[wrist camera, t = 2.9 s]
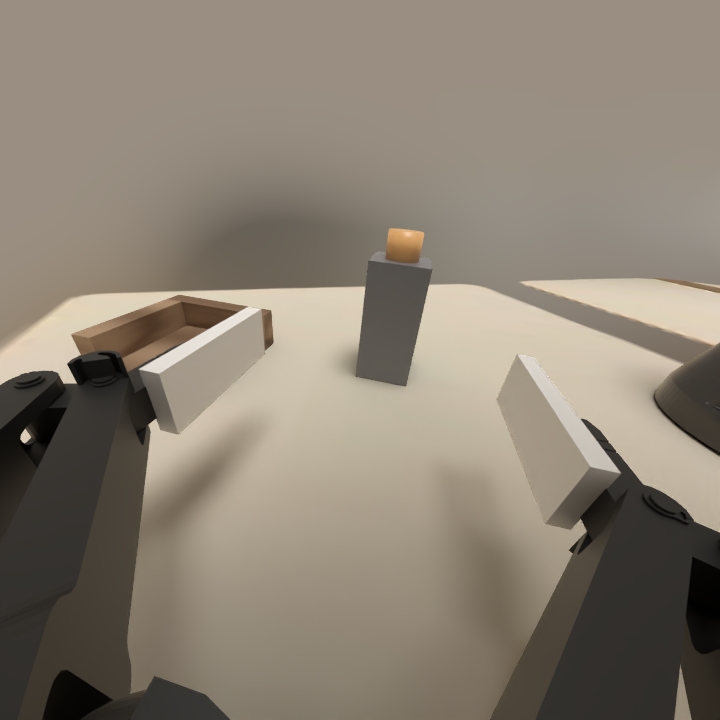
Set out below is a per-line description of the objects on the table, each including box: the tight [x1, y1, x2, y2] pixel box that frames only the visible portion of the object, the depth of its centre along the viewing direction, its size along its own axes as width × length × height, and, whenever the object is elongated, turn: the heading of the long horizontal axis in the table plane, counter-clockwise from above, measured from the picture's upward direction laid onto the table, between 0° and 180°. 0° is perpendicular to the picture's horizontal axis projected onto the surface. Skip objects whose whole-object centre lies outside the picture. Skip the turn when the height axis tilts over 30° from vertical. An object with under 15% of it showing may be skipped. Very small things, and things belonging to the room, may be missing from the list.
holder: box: [71, 295, 273, 372], centre depth 24 cm, size 10×10×4 cm
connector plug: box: [356, 229, 432, 386], centre depth 23 cm, size 4×4×12 cm
